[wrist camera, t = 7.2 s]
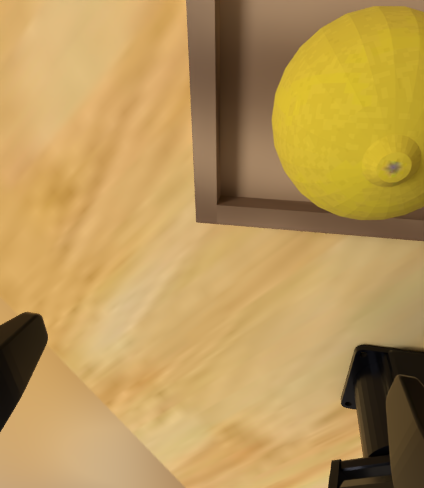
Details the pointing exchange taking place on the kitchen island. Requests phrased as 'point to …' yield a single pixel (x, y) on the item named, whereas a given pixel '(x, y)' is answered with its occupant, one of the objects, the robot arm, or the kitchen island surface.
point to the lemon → (356, 114)
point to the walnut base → (260, 115)
